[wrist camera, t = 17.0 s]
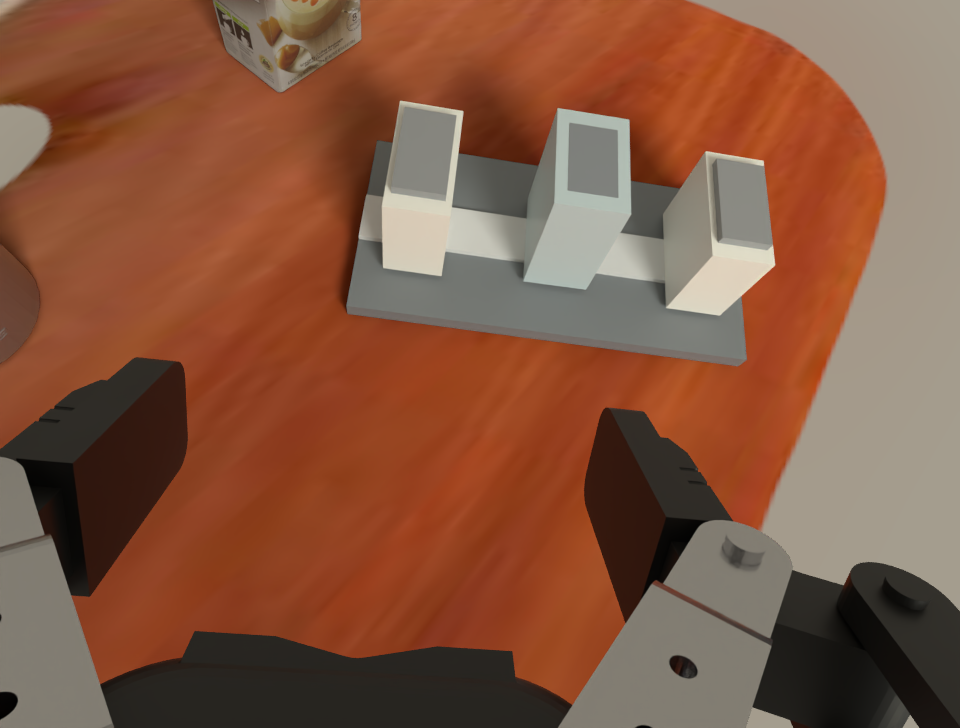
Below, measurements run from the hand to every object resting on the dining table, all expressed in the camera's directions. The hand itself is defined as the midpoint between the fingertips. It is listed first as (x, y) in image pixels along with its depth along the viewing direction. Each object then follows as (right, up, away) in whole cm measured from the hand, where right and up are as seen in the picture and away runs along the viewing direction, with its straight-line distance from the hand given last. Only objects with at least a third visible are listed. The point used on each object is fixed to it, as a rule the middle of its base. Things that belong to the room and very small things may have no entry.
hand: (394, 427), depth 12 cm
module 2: (+17, +9, +34) cm, 39 cm away
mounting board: (+7, +9, +35) cm, 37 cm away
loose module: (+7, +10, +33) cm, 35 cm away
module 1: (-3, +11, +32) cm, 34 cm away
